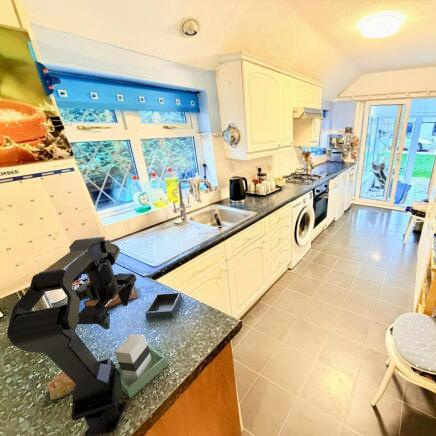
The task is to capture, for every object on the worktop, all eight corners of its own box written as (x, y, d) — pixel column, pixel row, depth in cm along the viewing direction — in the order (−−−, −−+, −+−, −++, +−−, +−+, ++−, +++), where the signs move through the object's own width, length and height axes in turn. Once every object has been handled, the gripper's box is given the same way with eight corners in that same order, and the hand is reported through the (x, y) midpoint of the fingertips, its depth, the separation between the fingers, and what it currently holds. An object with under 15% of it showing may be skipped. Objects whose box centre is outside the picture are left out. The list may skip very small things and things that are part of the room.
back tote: (173, 318, 92) (171, 311, 91) (146, 320, 91) (145, 312, 89) (182, 298, 102) (180, 292, 101) (158, 300, 101) (157, 293, 100)
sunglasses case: (86, 318, 90) (81, 302, 91) (87, 316, 96) (82, 301, 96) (139, 297, 102) (135, 282, 102) (138, 296, 107) (133, 283, 108)
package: (139, 383, 68) (129, 353, 64) (125, 381, 68) (114, 352, 64) (153, 363, 74) (145, 335, 69) (139, 362, 74) (130, 333, 70)
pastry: (88, 364, 74) (84, 355, 72) (95, 377, 70) (92, 368, 69) (47, 389, 67) (42, 380, 65) (53, 405, 63) (48, 396, 62)
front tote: (130, 398, 65) (127, 390, 63) (112, 380, 69) (108, 372, 68) (167, 365, 74) (165, 357, 72) (149, 351, 78) (147, 343, 77)
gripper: (95, 258, 76) (109, 295, 82) (42, 301, 59) (65, 343, 65) (131, 258, 76) (142, 295, 83) (89, 300, 59) (107, 342, 66)
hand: (116, 316), depth 74 cm, fingers open, 9 cm apart
